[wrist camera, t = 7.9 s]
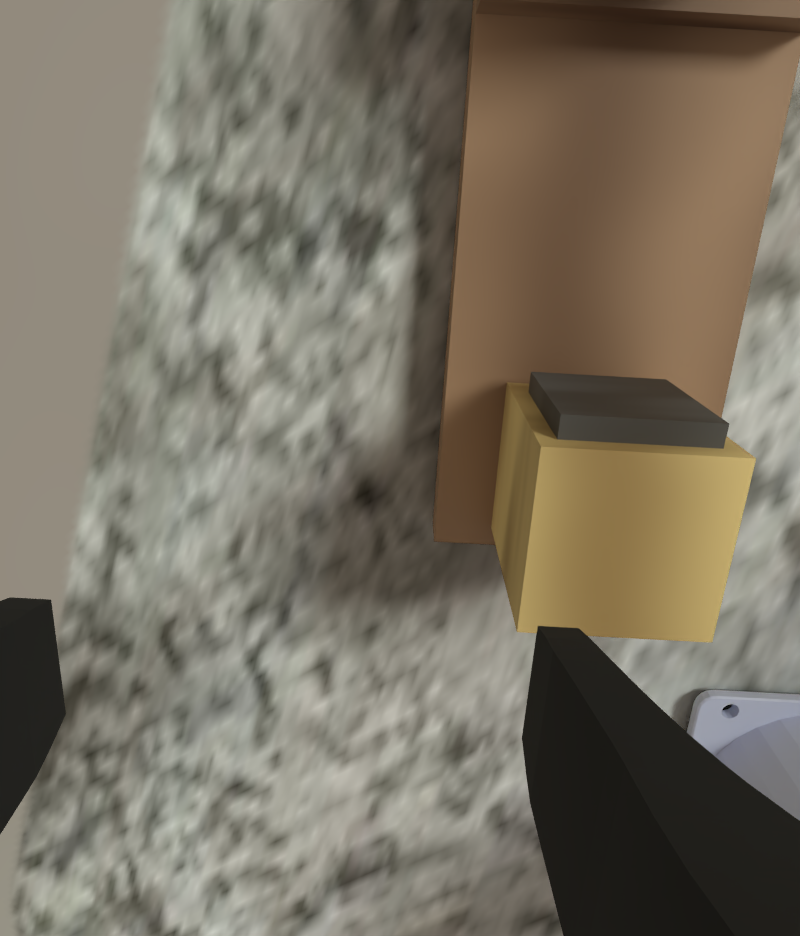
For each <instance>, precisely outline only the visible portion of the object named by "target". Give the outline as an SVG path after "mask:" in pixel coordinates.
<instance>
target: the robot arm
mask: <svg viewBox="0 0 800 936" xmlns="http://www.w3.org/2000/svg"><path fill="white" fill-rule="evenodd" d="M730 704H733V706H732V707H731V708H729V709H727V710H723V708H724V707H725V706H727V705H730ZM65 714H66V712H65V704H64V696H63V689H62V681H61V673H60V666H59V658H58V650H57V642H56V635H55V627H54V619H53V612H52V604H51V600H46V599H27V598H7V599H5V600H2V601H0V834H1V832H2V831H3V829H4V828H5V826H6V824H7V823H8V821H9V820H10V818H11V817H12V815H13V813H14V812H15V810H16V809H17V807H18V805H19V804H20V802H21V801H22V799H23V798H24V796H25V794H26V793H27V791H28V790H29V788H30V786H31V785H32V783H33V781H34V780H35V778H36V777H37V774H38V772H39V770H40V768H41V766H42V764H43V762H44V760H45V758H46V756H47V754H48V752H49V750H50V748H51V746H52V743H53V741H54V739H55V737H56V735H57V732H58V730H59V728H60V726H61V723H62V721H63V719H64V717H65ZM522 741H523V750H524V758H525V767H526V775H527V782H528V790H529V797H530V804H531V808H532V812H533V816H534V820H535V824H536V828H537V832H538V836H539V840H540V844H541V849H542V853H543V857H544V860H545V864H546V868H547V872H548V876H549V880H550V884H551V888H552V892H553V896H554V900H555V904H556V908H557V912H558V916H559V919H560V923H561V927H562V931H563V935H564V936H800V694H783V693H765V692H746V691H727V690H707V691H704V692H702V693H700V694H699V695H698V696H697V697H696V699H695V701H694V704H693V708H692V712H691V716H690V720H689V725H688V729H687V732H686V731H685V730H684V729H682V728H681V727H680V726H679V725H678V724H677V723H676V722H675V721H674V720H672V719H671V718H670V717H669V716H668V715H667V714H666V713H665V712H664V711H663V710H662V709H661V708H659V707H658V706H657V705H656V704H655V703H654V702H653V701H652V700H651V699H650V698H649V697H648V696H647V695H646V694H645V693H644V692H643V691H642V690H641V689H640V688H639V687H638V686H637V685H636V684H635V683H634V682H633V681H632V680H630V679H629V678H628V676H627V675H626V674H625V673H624V672H623V671H622V670H621V669H620V668H619V667H618V666H617V665H616V664H615V663H614V662H613V661H612V660H611V659H610V658H609V657H608V656H607V655H606V654H605V653H604V652H603V651H602V650H601V649H600V648H599V647H598V646H597V645H596V644H595V643H594V642H593V641H592V640H591V639H590V638H589V637H588V636H587V635H586V634H585V633H584V632H583V631H581V630H580V629H579V628H568V627H549V626H538V628H537V635H536V642H535V649H534V656H533V663H532V671H531V678H530V685H529V692H528V699H527V706H526V713H525V720H524V728H523V735H522Z"/></svg>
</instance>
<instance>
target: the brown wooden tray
mask: <svg viewBox="0 0 800 936" xmlns="http://www.w3.org/2000/svg"><path fill="white" fill-rule="evenodd" d="M799 58H800V0H473V9H472V22H471V35H470V48H469V61H468V74H467V87H466V99H465V112H464V125H463V138H462V151H461V164H460V177H459V190H458V203H457V216H456V229H455V242H454V255H453V268H452V281H451V294H450V307H449V320H448V333H447V346H446V358H445V371H444V384H443V397H442V410H441V423H440V436H439V449H438V462H437V475H436V488H435V501H434V514H433V532H434V541H435V542H453V543H471V544H490V545H496V549H497V553H498V557H499V561H500V565H501V569H502V573H503V577H504V581H505V585H506V589H507V593H508V597H509V601H510V606H511V610H512V614H513V618H514V622H515V626H516V630H517V632H527V633H537V628H538V626H549V627H568V628H579V629H580V630H581V631H583V632H584V633H585V634H586V635H587V636H601V637H620V638H639V639H657V640H676V641H695V642H712V640H713V636H714V632H715V628H716V624H717V620H718V615H719V611H720V607H721V603H722V599H723V594H724V590H725V586H726V582H727V578H728V574H729V569H730V565H731V561H732V557H733V553H734V549H735V544H736V540H737V536H738V532H739V528H740V524H741V519H742V515H743V511H744V507H745V503H746V499H747V494H748V490H749V486H750V482H751V478H752V474H753V469H754V465H755V461H756V458H755V457H753V456H752V455H751V454H749V453H748V452H747V451H745V450H744V449H743V448H741V447H740V446H739V445H737V444H736V443H735V442H733V441H732V440H731V439H729V438H728V437H727V431H728V427H729V423H727V422H726V421H725V420H723V419H722V418H721V417H722V412H723V407H724V403H725V398H726V394H727V389H728V384H729V380H730V375H731V371H732V366H733V361H734V357H735V352H736V348H737V343H738V338H739V334H740V329H741V325H742V320H743V315H744V311H745V306H746V302H747V297H748V292H749V288H750V283H751V279H752V274H753V269H754V265H755V260H756V256H757V251H758V246H759V242H760V237H761V233H762V228H763V223H764V219H765V214H766V210H767V205H768V200H769V196H770V191H771V187H772V182H773V177H774V173H775V168H776V164H777V159H778V154H779V150H780V145H781V141H782V136H783V131H784V127H785V122H786V118H787V113H788V108H789V104H790V99H791V95H792V90H793V85H794V81H795V76H796V72H797V67H798V62H799Z"/></svg>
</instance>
